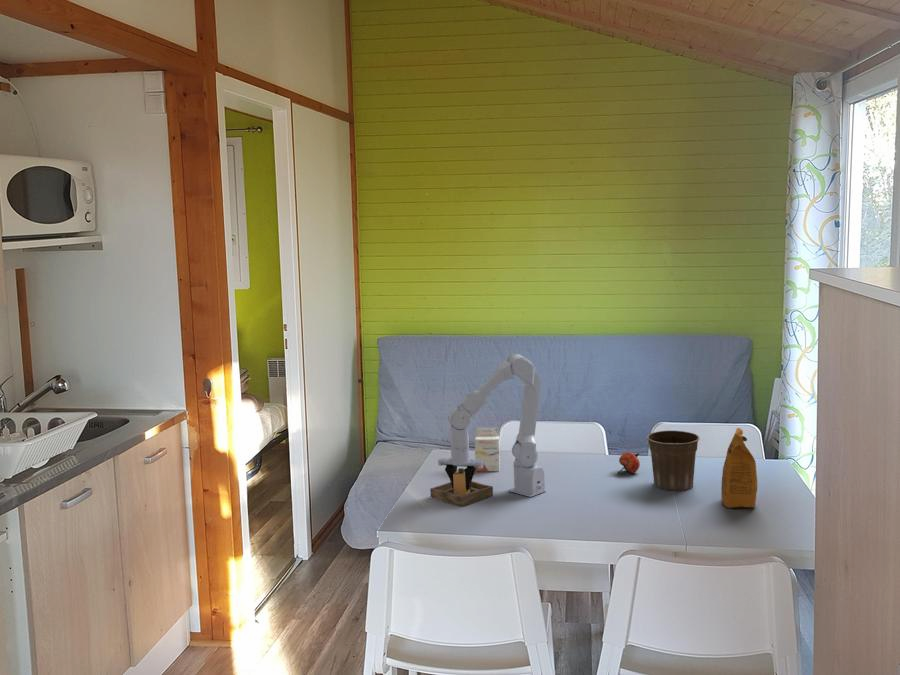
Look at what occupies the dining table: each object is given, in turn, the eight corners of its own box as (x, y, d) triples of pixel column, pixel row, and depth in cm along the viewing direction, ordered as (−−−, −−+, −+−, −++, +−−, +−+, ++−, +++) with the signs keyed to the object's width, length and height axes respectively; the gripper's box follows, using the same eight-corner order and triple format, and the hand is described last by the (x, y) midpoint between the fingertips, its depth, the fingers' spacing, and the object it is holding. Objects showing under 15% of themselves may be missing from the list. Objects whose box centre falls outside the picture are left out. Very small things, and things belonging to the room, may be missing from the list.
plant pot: (679, 497, 262) (679, 445, 260) (636, 485, 274) (636, 437, 272) (709, 485, 272) (709, 436, 270) (667, 475, 284) (667, 428, 282)
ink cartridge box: (475, 471, 297) (473, 430, 295) (476, 467, 302) (474, 427, 300) (499, 471, 296) (498, 430, 294) (500, 467, 301) (499, 427, 299)
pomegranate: (625, 483, 285) (648, 464, 284) (611, 466, 285) (634, 447, 284) (621, 479, 292) (644, 460, 292) (608, 462, 292) (630, 444, 292)
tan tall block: (470, 492, 271) (469, 467, 270) (465, 496, 268) (464, 471, 267) (458, 491, 273) (457, 466, 272) (453, 495, 269) (452, 470, 268)
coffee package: (755, 497, 258) (755, 426, 256) (758, 511, 247) (758, 437, 244) (720, 496, 261) (720, 426, 258) (722, 509, 249) (722, 436, 246)
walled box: (493, 495, 270) (492, 486, 270) (461, 506, 260) (461, 497, 260) (461, 487, 280) (461, 478, 280) (430, 497, 270) (430, 488, 270)
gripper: (485, 444, 269) (487, 486, 271) (443, 442, 274) (444, 483, 276) (478, 450, 263) (480, 493, 264) (435, 447, 268) (436, 489, 270)
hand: (461, 488), depth 270 cm, fingers closed on tan tall block, 4 cm apart
